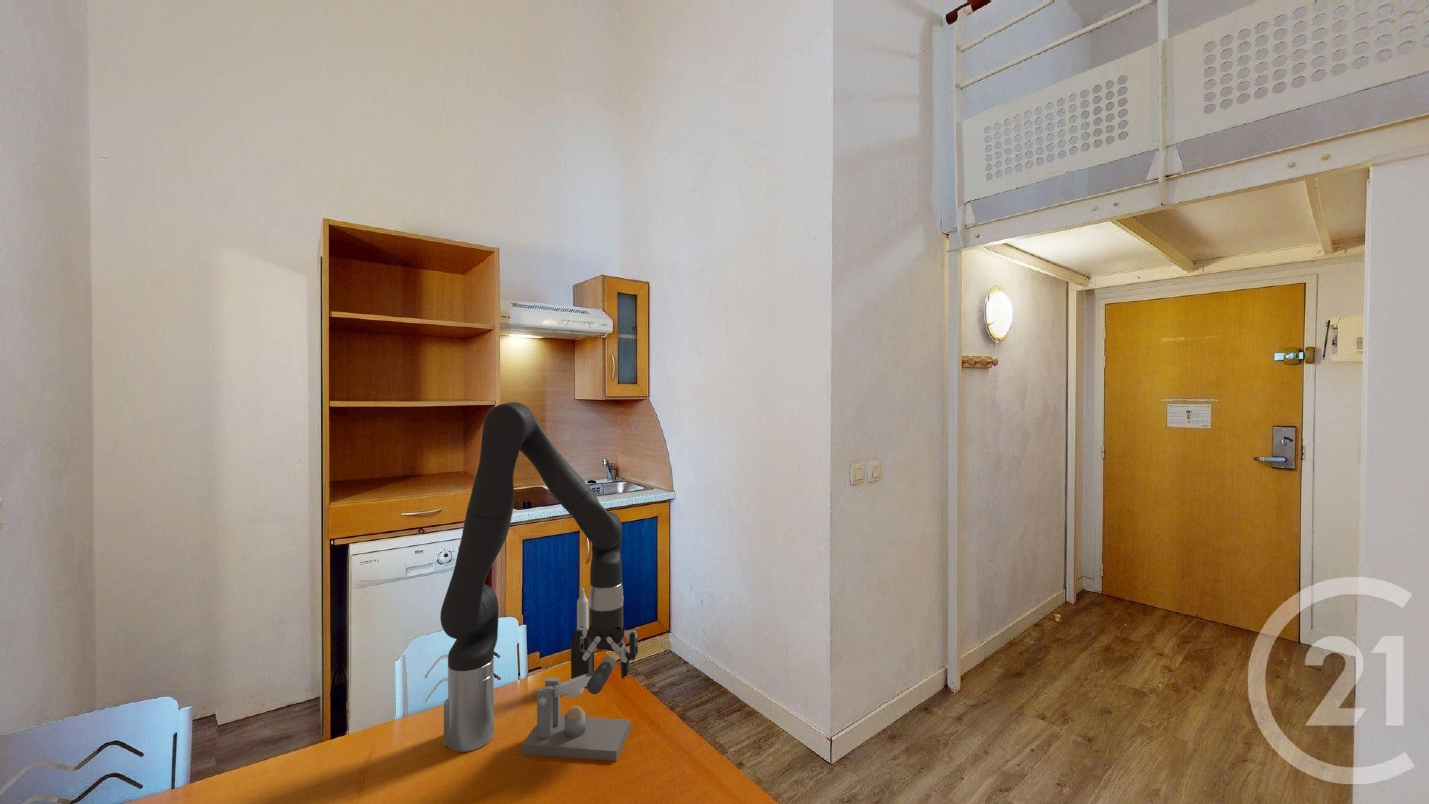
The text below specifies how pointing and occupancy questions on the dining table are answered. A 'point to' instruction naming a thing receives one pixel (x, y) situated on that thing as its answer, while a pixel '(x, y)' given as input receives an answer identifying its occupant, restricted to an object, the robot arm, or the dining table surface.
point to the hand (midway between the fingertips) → (606, 675)
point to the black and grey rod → (583, 621)
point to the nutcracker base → (584, 745)
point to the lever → (586, 681)
